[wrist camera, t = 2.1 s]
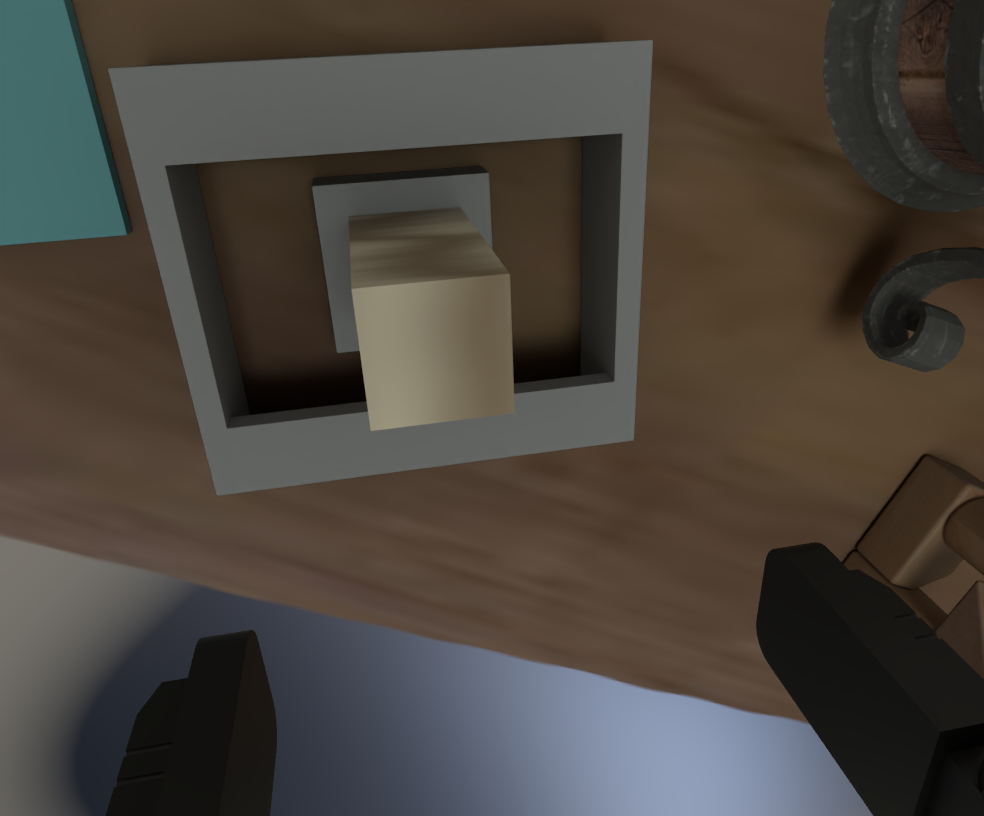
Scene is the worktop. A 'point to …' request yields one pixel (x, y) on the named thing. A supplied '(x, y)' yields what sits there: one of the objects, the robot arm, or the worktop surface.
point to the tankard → (912, 148)
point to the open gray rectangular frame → (386, 126)
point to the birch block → (430, 318)
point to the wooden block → (932, 550)
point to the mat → (52, 132)
